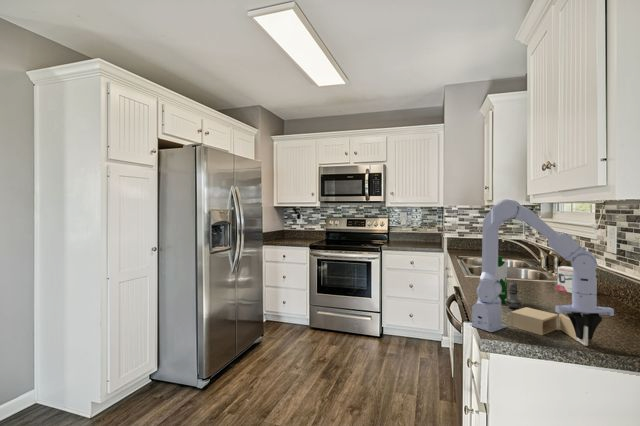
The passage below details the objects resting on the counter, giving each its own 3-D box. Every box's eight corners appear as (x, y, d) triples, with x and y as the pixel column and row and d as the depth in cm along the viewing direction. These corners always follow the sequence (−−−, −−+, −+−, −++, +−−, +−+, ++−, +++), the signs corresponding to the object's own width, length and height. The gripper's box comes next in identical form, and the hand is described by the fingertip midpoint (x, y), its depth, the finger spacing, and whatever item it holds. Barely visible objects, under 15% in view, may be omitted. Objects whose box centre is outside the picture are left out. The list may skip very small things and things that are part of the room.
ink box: (556, 290, 161) (556, 266, 161) (562, 289, 164) (562, 265, 164) (576, 294, 154) (576, 269, 154) (582, 292, 156) (582, 268, 156)
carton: (542, 335, 104) (542, 320, 104) (510, 326, 112) (510, 311, 112) (557, 329, 109) (557, 314, 109) (526, 320, 117) (526, 307, 117)
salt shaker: (513, 312, 127) (513, 281, 127) (501, 307, 133) (501, 278, 133) (525, 310, 129) (525, 280, 129) (512, 306, 135) (512, 277, 135)
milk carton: (488, 303, 140) (488, 256, 139) (480, 297, 149) (480, 254, 148) (510, 303, 139) (510, 257, 139) (500, 298, 148) (500, 254, 148)
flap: (588, 346, 95) (587, 326, 94) (584, 346, 95) (584, 326, 95) (561, 328, 109) (561, 311, 108) (559, 328, 109) (559, 311, 109)
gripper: (601, 290, 99) (601, 334, 99) (549, 288, 102) (549, 331, 102) (619, 296, 92) (619, 343, 92) (563, 294, 95) (563, 340, 95)
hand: (584, 338), depth 97 cm, fingers closed
